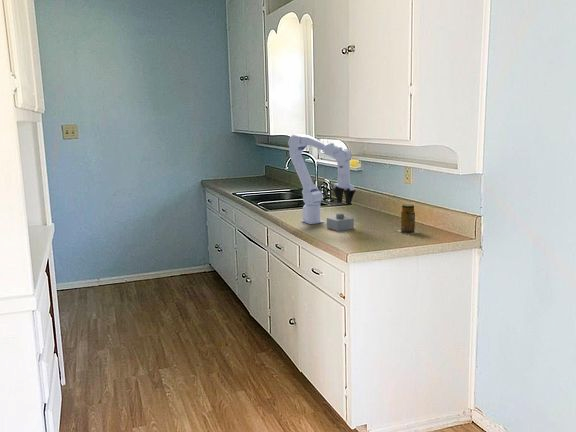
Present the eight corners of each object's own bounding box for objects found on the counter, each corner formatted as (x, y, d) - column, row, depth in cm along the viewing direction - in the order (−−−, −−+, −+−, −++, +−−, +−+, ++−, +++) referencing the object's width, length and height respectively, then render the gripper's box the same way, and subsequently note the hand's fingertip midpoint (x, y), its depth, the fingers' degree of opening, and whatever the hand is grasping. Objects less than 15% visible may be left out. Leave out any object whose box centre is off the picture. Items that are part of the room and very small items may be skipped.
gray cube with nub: (326, 227, 267) (326, 213, 266) (342, 225, 271) (342, 211, 270) (337, 231, 259) (337, 216, 258) (353, 228, 263) (353, 214, 262)
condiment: (411, 229, 258) (411, 203, 256) (420, 233, 250) (420, 206, 248) (396, 230, 256) (396, 204, 254) (405, 234, 248) (405, 207, 246)
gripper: (359, 175, 263) (359, 204, 266) (342, 173, 276) (342, 201, 279) (347, 177, 260) (347, 206, 263) (330, 174, 273) (330, 202, 275)
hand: (344, 203), depth 270 cm, fingers open, 7 cm apart
